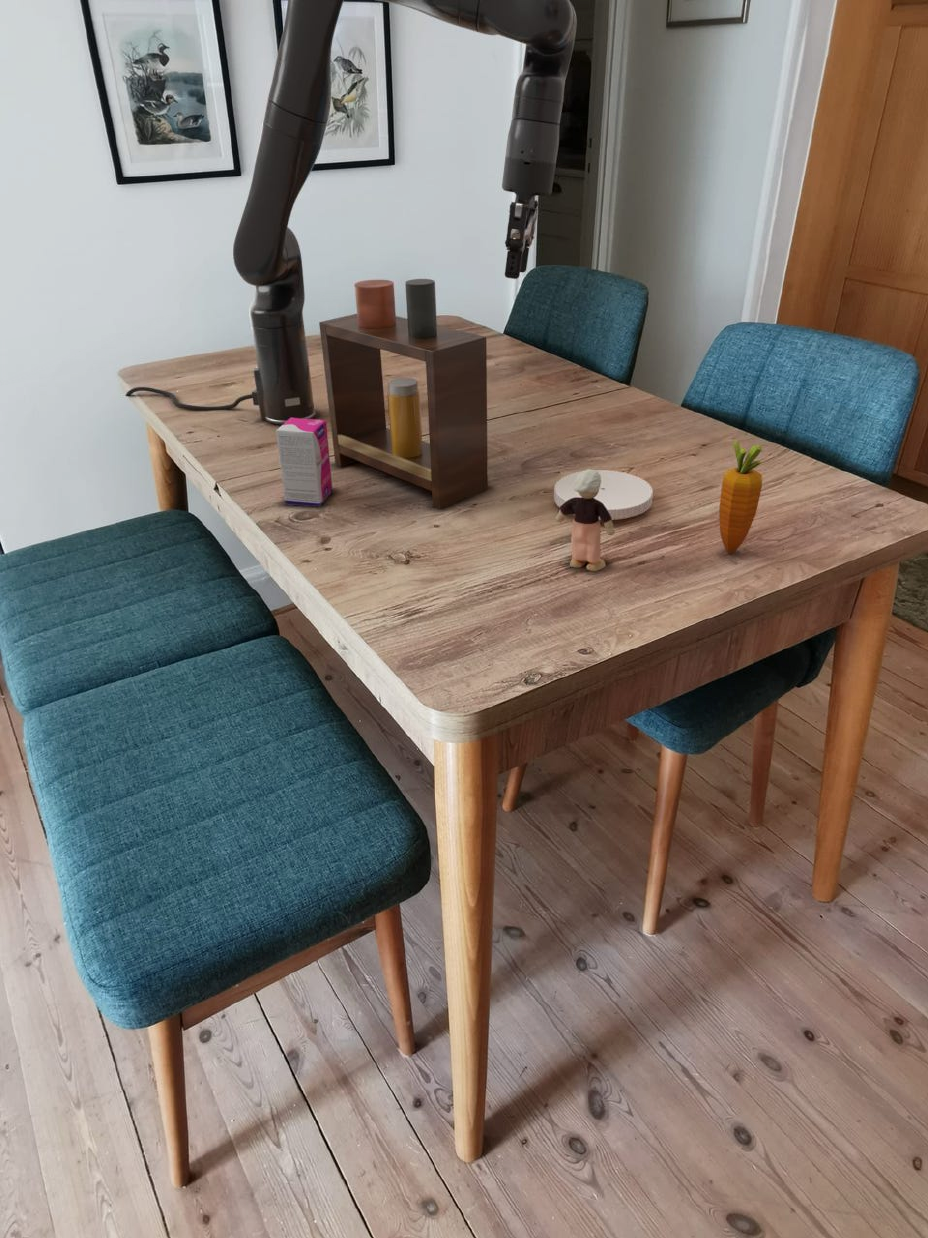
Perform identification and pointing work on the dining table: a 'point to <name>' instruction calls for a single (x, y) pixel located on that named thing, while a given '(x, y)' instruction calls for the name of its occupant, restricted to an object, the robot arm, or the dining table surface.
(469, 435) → the spice rack
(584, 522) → the grandmother figurine
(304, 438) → the supplement box
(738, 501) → the carrot
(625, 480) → the plastic lid
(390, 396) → the shaker
